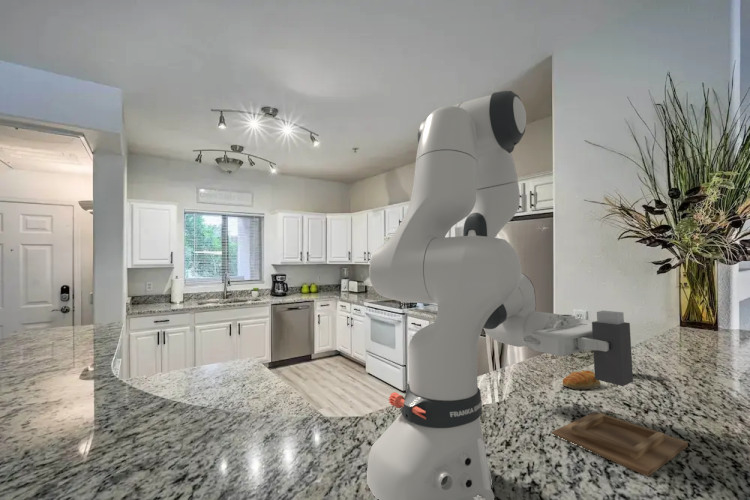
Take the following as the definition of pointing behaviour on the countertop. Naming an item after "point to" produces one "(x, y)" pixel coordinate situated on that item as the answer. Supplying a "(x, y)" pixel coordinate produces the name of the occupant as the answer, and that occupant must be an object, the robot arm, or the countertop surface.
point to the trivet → (622, 442)
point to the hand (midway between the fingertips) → (616, 344)
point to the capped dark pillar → (613, 348)
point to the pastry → (581, 380)
